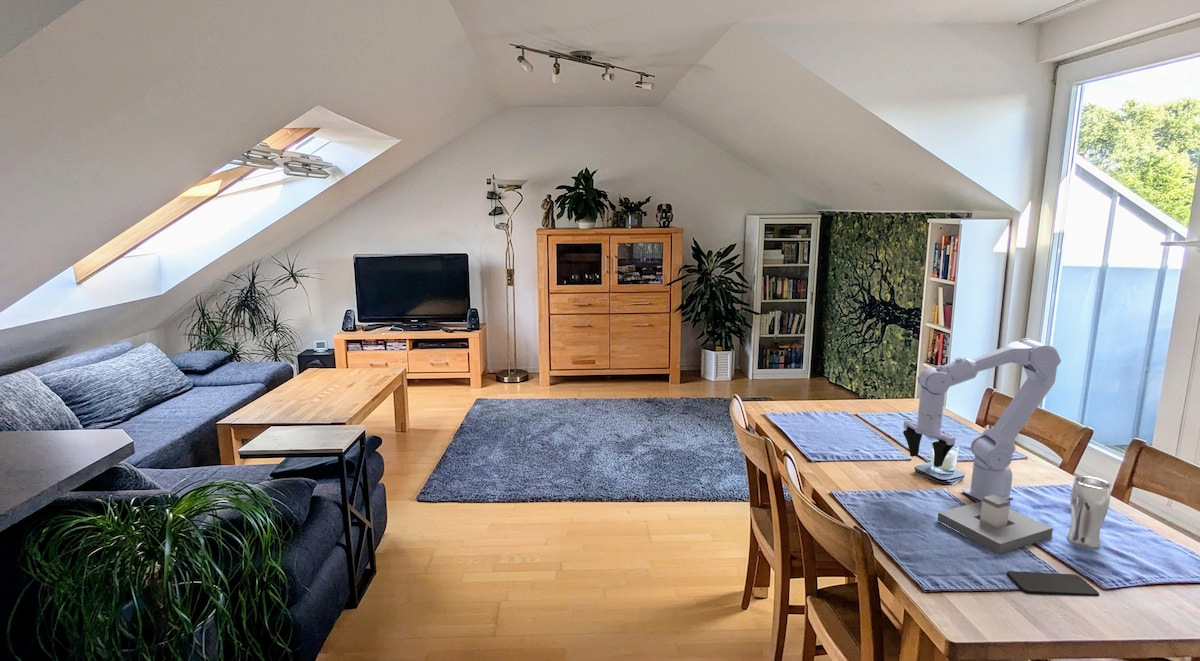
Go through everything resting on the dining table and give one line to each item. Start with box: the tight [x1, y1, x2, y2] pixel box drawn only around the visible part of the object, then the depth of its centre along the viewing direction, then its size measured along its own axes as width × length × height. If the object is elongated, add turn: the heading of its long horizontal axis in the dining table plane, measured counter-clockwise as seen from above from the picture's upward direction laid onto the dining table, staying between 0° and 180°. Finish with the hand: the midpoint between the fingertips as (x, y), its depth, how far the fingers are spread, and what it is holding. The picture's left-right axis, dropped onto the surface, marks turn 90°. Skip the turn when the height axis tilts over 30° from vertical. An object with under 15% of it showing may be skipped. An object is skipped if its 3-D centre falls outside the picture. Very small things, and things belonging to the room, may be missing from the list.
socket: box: [937, 500, 1054, 555], centre depth 150 cm, size 18×16×2 cm
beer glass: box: [1066, 475, 1112, 549], centre depth 143 cm, size 7×7×15 cm
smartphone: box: [1006, 570, 1100, 597], centre depth 128 cm, size 7×1×15 cm
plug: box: [980, 495, 1011, 529], centre depth 149 cm, size 4×4×8 cm
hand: (925, 460), depth 168 cm, fingers open, 7 cm apart
